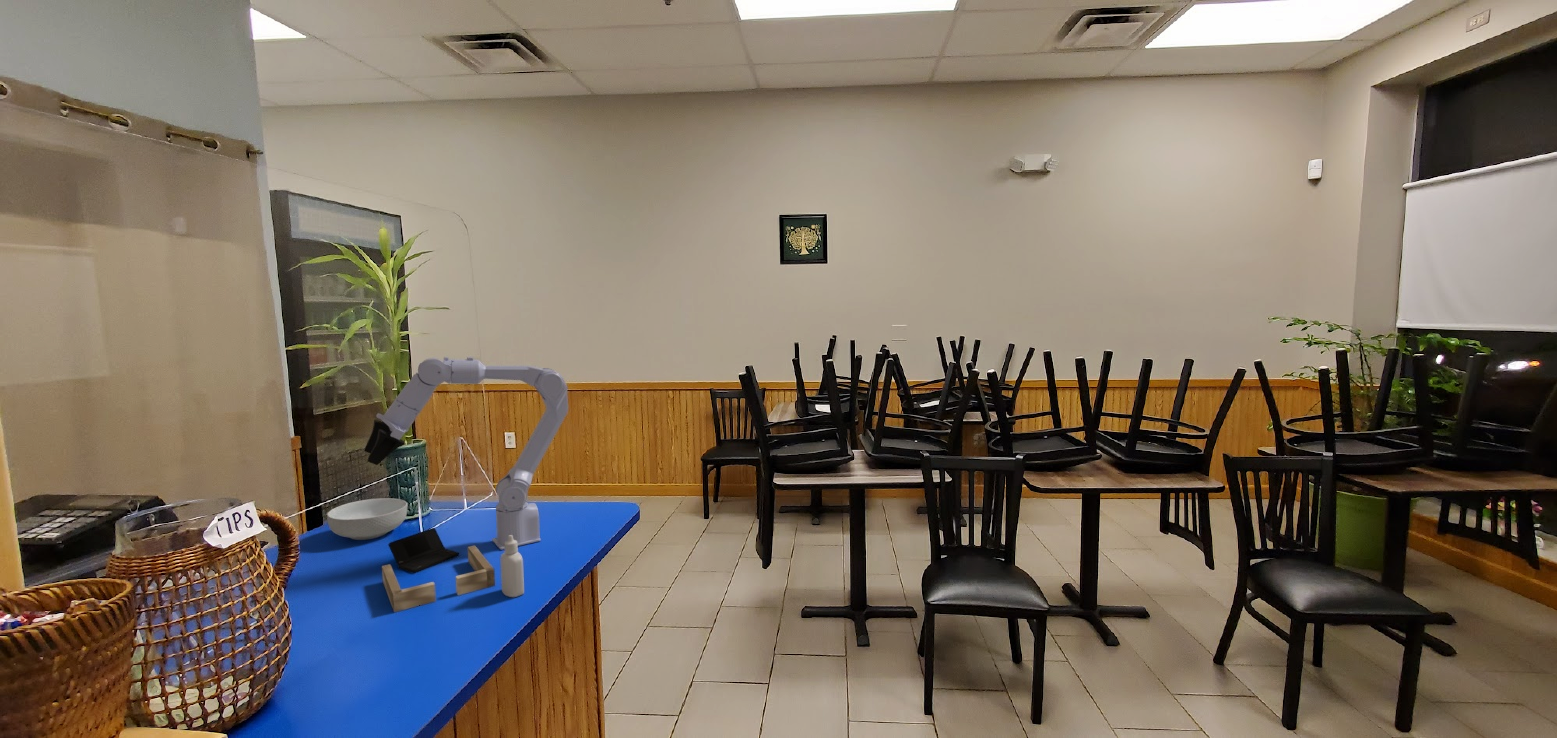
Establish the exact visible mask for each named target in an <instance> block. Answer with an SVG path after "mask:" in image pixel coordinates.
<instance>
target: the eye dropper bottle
mask: <svg viewBox="0 0 1557 738" xmlns="http://www.w3.org/2000/svg"><path fill="white" fill-rule="evenodd" d="M504 545H505V549H504V552H503V553H501V555H500V577H501V579H500V582H501V584H500V585H501V592H502V593H503V595H505V596H506V597H509V598H516V597H520V596H522V595H524V594H525V581H524V577H525V576H524V559H523V556H522V554H521V553H520V552H519V549H518V547H519V546H518V543H517V541H516V540H514V539H513V535H509V538H508V541H506V542H505V543H504Z"/></svg>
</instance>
